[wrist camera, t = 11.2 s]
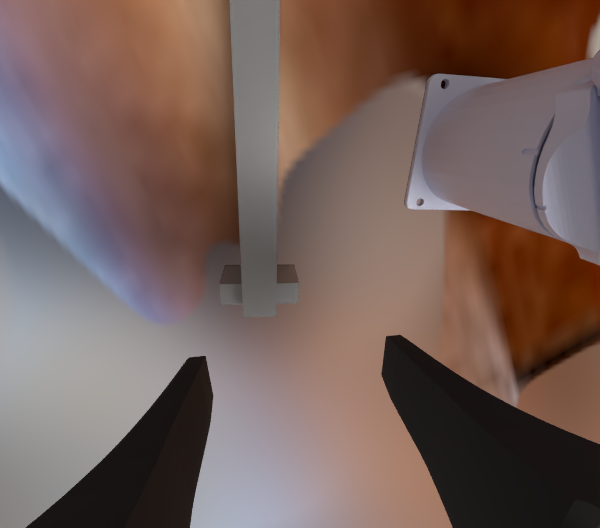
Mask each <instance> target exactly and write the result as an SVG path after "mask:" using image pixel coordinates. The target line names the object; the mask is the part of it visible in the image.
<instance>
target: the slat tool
mask: <svg viewBox="0 0 600 528" xmlns="http://www.w3.org/2000/svg"><path fill="white" fill-rule="evenodd" d="M229 5H230V28H231V51H232V74H233V97H234V120H235V143H236V166H237V188H238V211H239V234H240V256H241V265H225V267H224V271H223V274H222V278H221V280H220V284H219V287H220V300H221V305H243V318H246V317H276V306H277V305H276V304H280V303H281V304H282V303H298V292H299V291H298V290H299V281H298V278H297V274H296V270H295V266H294V265H277V220H278V132H279V43H280V0H229Z"/></svg>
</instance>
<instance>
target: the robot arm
mask: <svg viewBox="0 0 600 528" xmlns="http://www.w3.org/2000/svg"><path fill="white" fill-rule="evenodd" d="M442 80H444V81H445V87H444V89H442V87H441V82H442ZM418 199H421V202H420V204H419V205H417V200H418ZM404 205H405V206H406V207H407V208H409V209H420V210H421V209H422V210H472V211H475V212H478V213H481V214H483V215H486V216H489V217H492V218H495V219H498V220H501V221H504V222H507V223H510V224H513V225H516V226H519V227H522V228H525V229H528V230H531V231H534V232H537V233H540V234H543V235H546V236H549V237H552V238H555V239H558V240H561V241H565V242H567V243H569V244H571V245H573V246H574V247H575V248H576V249H577V251H578V253H579V256H580V258H581V259H584V260H587V261H590V262H592V263H595V264H598V265H600V50H599V51H598V52H597V53H596V55H595V56H594V57H593V58H590V59H586V60H582V61H578V62H574V63H570V64H566V65H562V66H558V67H554V68H550V69H546V70H542V71H538V72H534V73H530V74H526V75H522V76H518V77H514V78H510V79H499V78H487V77H475V76H463V75H451V74H434V75H432V76H431V77H429V79H428V80H427V83H426V87H425V93H424V98H423V104H422V109H421V115H420V120H419V125H418V130H417V136H416V141H415V146H414V152H413V157H412V162H411V168H410V174H409V179H408V184H407V189H406V194H405V200H404ZM382 377H383V380H384V383H385V385H386V388H387V390H388V393H389V395H390V398H391V400H392V402H393V404H394V406H395V407H396V409H397V411H398V413H399V415H400V417H401V419H402V421H403V422H404V424H405V426H406V428H407V430H408V432H409V433H410V435H411V437H412V439H413V441H414V443H415V444H416V446H417V448H418V450H419V452H420V454H421V456H422V458H423V460H424V462H425V464H426V466H427V468H428V470H429V472H430V475H431V476H432V479H433V481H434V484H435V486H436V488H437V490H438V493H439V495H440V498H441V500H442V502H443V505H444V507H445V510H446V512H447V514H448V517H449V519H450V522H451V524H452V527H453V528H600V444H597V443H595V442H592V441H590V440H587V439H585V438H582V437H580V436H577V435H575V434H573V433H570V432H568V431H565V430H563V429H560V428H558V427H556V426H554V425H551V424H549V423H547V422H545V421H542V420H540V419H538V418H536V417H534V416H532V415H530V414H528V413H526V412H523V411H521V410H519V409H517V408H515V407H513V406H511V405H510V404H508V403H506V402H504V401H502V400H500V399H498V398H497V397H495V396H493V395H491V394H489V393H487V392H486V391H484V390H482V389H480V388H479V387H477V386H475V385H474V384H472V383H471V382H469V381H467V380H466V379H464V378H462V377H461V376H459V375H458V374H456V373H455V372H453V371H452V370H450V369H449V368H447V367H446V366H444V365H443V364H441V363H440V362H438V361H437V360H435V359H434V358H433V357H431V356H430V355H428V354H427V353H425V352H424V351H423V350H421V349H420V348H418V347H417V346H416V345H414V344H413V343H411V342H410V341H408V340H407V339H406V338H404V337H403V336H401V335H396V336H386V341H385V351H384V359H383V367H382ZM212 401H213V392H212V387H211V382H210V377H209V371H208V367H207V361H206V356H200V357H191V358H188V359H187V360H186V362H185V364H183V366H182V367H181V369H180V370H179V371H178V373H177V374H176V375H175V377H174V378H173V379H172V381H171V382H170V383H169V385H168V386H167V387H166V389H165V390H164V391H163V392H162V394H161V395H160V396H159V397H158V399H157V400H156V401H155V403H154V404H153V405H152V406H151V408H150V409H149V410H148V411H147V412H146V413H145V415H144V416H143V417H142V418H141V419H140V420H139V422H138V423H137V424H136V425H135V426H134V427H133V428H132V429H131V431H130V432H129V433H128V434H127V435H126V436H125V437H124V438H123V439H122V440H121V441H120V442H119V444H118V445H117V446H116V447H115V448H114V449H113V450H112V451H111V452H110V453H109V454H108V455H107V456H106V457H105V458H104V459H103V460H102V461H101V462H100V463H99V464H98V465H97V466H96V467H94V469H92V470H91V471H90V472H89V473H88V474H87V475H86V476H85V477H84V478H83V479H82V480H81V481H79V483H77V484H76V485H75V486H74V487H73V488H72V489H71V490H70V491H68V492H67V493H66V494H65V495H64V496H63V497H62V498H61V499H59V500H58V501H57V502H56V503H55V504H54V505H52V506H51V507H50V508H49V509H48V510H46V511H45V512H44V513H43V514H42V515H41V516H40V517H38V518H37V519H36V520H34V521H33V522H32V523H31V524H30V525H28V526H27V527H26V528H190V522H191V514H192V508H193V502H194V497H195V491H196V486H197V482H198V477H199V473H200V468H201V464H202V459H203V455H204V450H205V445H206V441H207V436H208V432H209V427H210V422H211V412H212Z"/></svg>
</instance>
